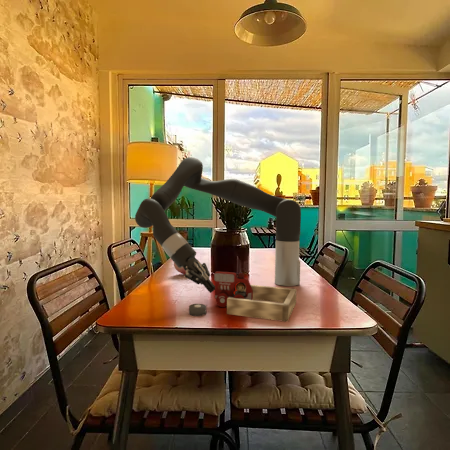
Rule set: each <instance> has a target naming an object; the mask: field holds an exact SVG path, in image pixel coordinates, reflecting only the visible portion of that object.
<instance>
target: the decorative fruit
mask: <svg viewBox="0 0 450 450" xmlns="http://www.w3.org/2000/svg"><path fill="white" fill-rule="evenodd" d="M173 268H174V269H175V270H176V271H177V272H178V273H180V274H181V275H185V274H186V271H185V270H184V268H183V267H181V268H179V267H178V266H177V265H176V264H175V263H174V262H173Z"/></svg>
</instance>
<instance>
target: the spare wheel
mask: <svg viewBox="0 0 450 450" xmlns="http://www.w3.org/2000/svg"><path fill="white" fill-rule="evenodd" d="M188 314H189V316H190V315H191V316H193V317H203V316H205V315H207V305H206V304H204V303H194V304H189V306H188Z"/></svg>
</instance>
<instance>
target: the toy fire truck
mask: <svg viewBox="0 0 450 450" xmlns="http://www.w3.org/2000/svg"><path fill="white" fill-rule="evenodd" d="M213 281H214V285H215V290H214V299H215V302H216V305H217V306H218V307H220V308H225V307H226V308H227V298H229V297H230V298H239V299H249V300H253V289H252V287H251V285H252V284H251V283H250V281H249V279H248V278H247V277H245V273H243V272H242V271H241V272H239V273H236V272H229V271H214V273H213ZM245 288H246V292H245V291H244V290H245Z"/></svg>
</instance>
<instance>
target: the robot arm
mask: <svg viewBox="0 0 450 450" xmlns="http://www.w3.org/2000/svg"><path fill="white" fill-rule="evenodd" d="M203 168H204V165H203V163H202V161H201V160H200V159H199V158H196V157H193V156H191V157H189V156H188V157H186V158H183V159H182V160H181V161H180V163H179V165H178V166H177V168H176V169H175V170H174V171H173V173H172V175H170V177H169V178H168V179H167V181H165V183H164V184H163V185H161V186H160V187H159V188H158V189H157V190H156V191H155V192H154V193H153V194H152V195H151V197H150V198H145V199H143V200H142V201H141V203H140V204H139V206H138V209H137V211H136V213H135V216H134V219H135V222H136V224H137V226H138V227H141V228H144V229H146V228H147V229H148V228H153V230H152V236H153V238H154V239H155V240H156V242H158V244H159V245H160V246H161V247H162V248H163V250H164V252H165V253H166V255H167V256H168V257H169V258H170V259H171V260H172V262H173V264H174V263H175V264H176V265H177V266H178V267H179V268H181V267H183V268H184V270H185V271H186V274H185V275H184V274H183V275H184V278H187V279H188V280H190V281H191V282H193V283H195V284H196V285H203V286H204V288H205V289H206V290H207V291H208V292H209V293H210V294H211V293H213V292H215V283H213V281H211V280H210V276H211V274H210V272H209V269H208V266H207V264H206V263H205V262H203V263H201V262H200V261H199V259H197V258H196V255H197V252H196V250H195V249H194V248H193V247H192V246H191V244H190V243H189V242H188V241H187V239H186V238H184V237H183V236H182V234H180V232H178V230H177V229H176V228H175V227H174V226H173V225H172V224H171V222H170V219H169V218H168V215H167V214H166V212H165V211H167V209H168V208H170V206H171V205H172V204H173V203H175V201H176V200H177V198H178V197H179V195H180V193H181V192H182V190H183V188H184V187H186V188H188V189H192V190H194V191H199V192H203V193H206V194H209V195H212V196H216V197H217V198H221V199H223V200H225V201H228V202H231V203H233V204H235V205H238V206H242V207H245V208H249V209H253V210H258V211H261V212H264V213H266V214H269V215H270V216H272V217H275V220H276V221H275V252H274V253H275V254H274V255H275V260H274V263H275V264H274V265H275V266H274V284H275V285H277V286H283V287H284V286H285V287H294V286H300V285H301V284H300V283H301V260H300V238H301V228H302V227H301V224H302V223H301V222H302V209H301V206H300V204H299V203H298V202H297V201H295V200H294V199H289V198H288V199H287V198H283V197H279V196H276V195H272V194H270V193H267V192H265V191H264V190H262V189H260V188H258V187H256V186H254V185H252V184H249V183H247V182H246V181H243V180H239V179H237V178H228V179H227V178H226V179H220V180H209V179H206V178H203V177H202V176H203V171H204V170H203Z"/></svg>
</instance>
